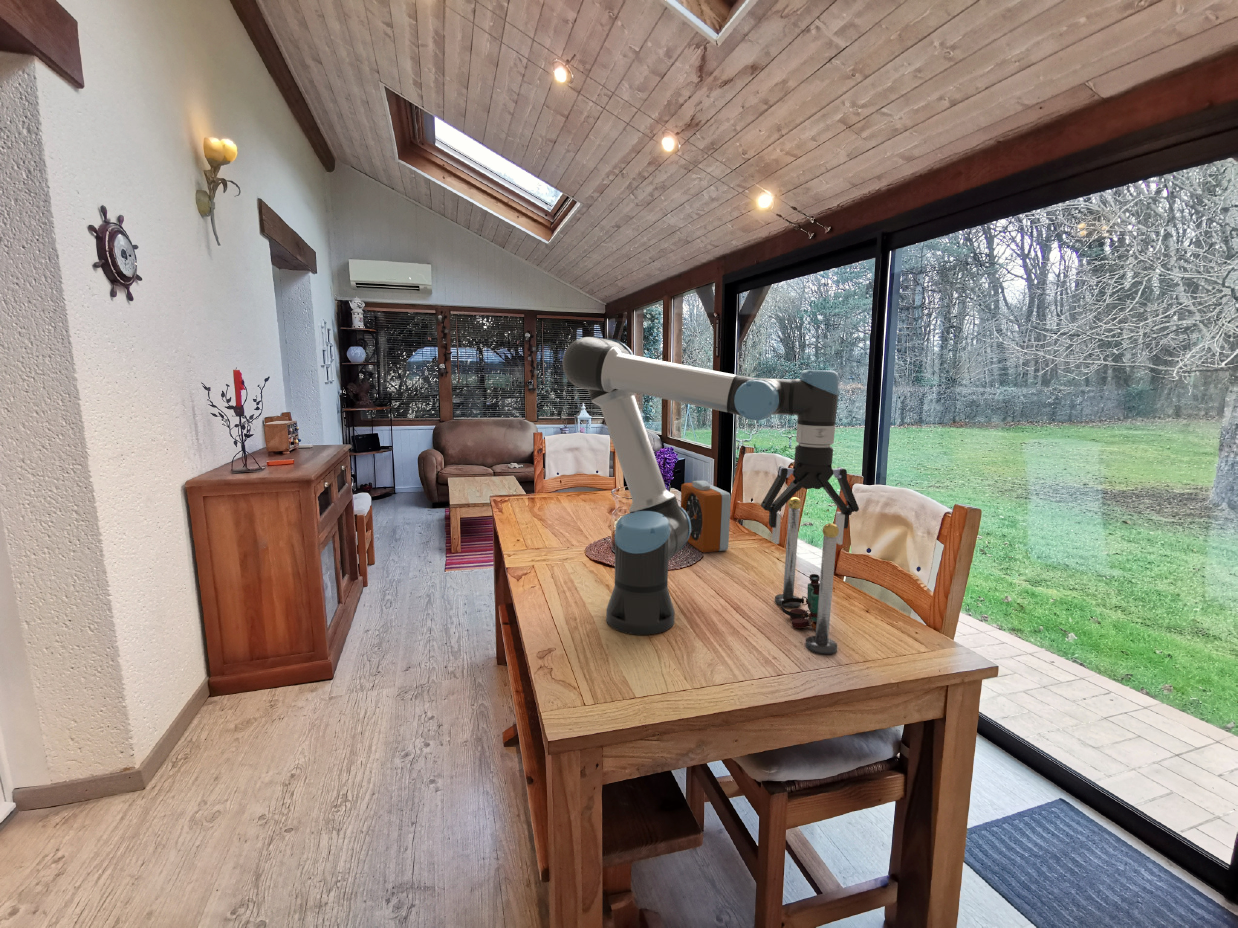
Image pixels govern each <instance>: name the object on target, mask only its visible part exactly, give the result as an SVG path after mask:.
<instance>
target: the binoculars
mask: <svg viewBox="0 0 1238 928" xmlns="http://www.w3.org/2000/svg"><path fill="white" fill-rule="evenodd" d="M809 581H810V582H809V583H808V584H807V594H806V595H807V597H806V596H803V595H802V597H801V598H800V597H799V598H787V599H784V600H783V601H781V606H780V608H781V611H782V612H783V614H785V615H787V616H788V617H790V619H791V627H792V628H795V629H803V628H808V627H811V628H813V629H814V630H816V624H817V612H818V600H819V587H820V575H819V574H816V573H812V574H810V575H809ZM789 602H798V603H801V605H802V606H807V610H805V609H802V608H791V610H787V608H785V607H782V605H784V604H785V603H789ZM809 620H811V623H810V622H809Z"/></svg>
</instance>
